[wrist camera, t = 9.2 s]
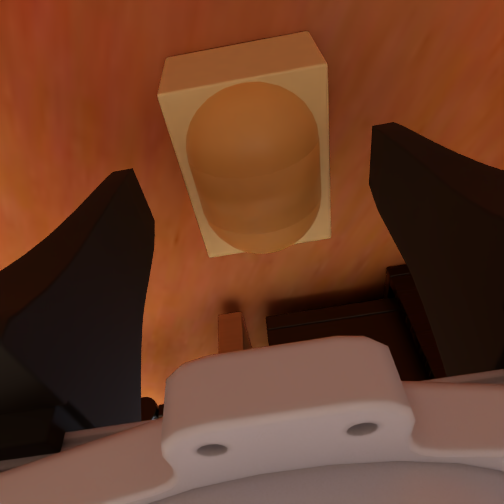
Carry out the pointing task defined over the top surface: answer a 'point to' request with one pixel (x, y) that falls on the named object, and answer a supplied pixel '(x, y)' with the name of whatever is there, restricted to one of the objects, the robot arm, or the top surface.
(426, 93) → the top surface
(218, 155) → the tan domed block
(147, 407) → the drawer
